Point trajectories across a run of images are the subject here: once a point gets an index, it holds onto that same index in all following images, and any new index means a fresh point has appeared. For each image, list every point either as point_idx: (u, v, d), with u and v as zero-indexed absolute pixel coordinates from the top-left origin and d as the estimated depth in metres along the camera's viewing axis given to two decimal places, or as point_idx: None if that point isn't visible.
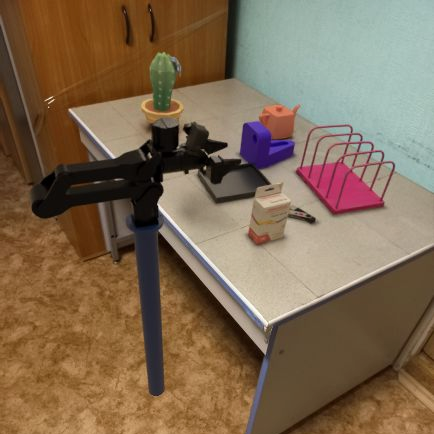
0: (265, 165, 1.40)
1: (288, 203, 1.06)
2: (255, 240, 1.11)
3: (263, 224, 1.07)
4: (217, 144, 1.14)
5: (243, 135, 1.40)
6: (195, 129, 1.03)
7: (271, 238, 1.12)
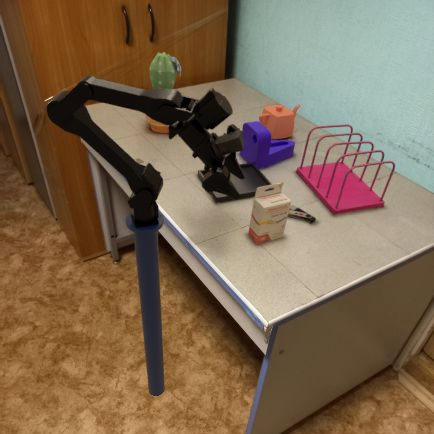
0: (265, 165, 1.40)
1: (288, 203, 1.06)
2: (255, 240, 1.11)
3: (263, 224, 1.07)
4: (237, 169, 1.07)
5: (243, 135, 1.40)
6: (236, 135, 0.95)
7: (271, 237, 1.12)
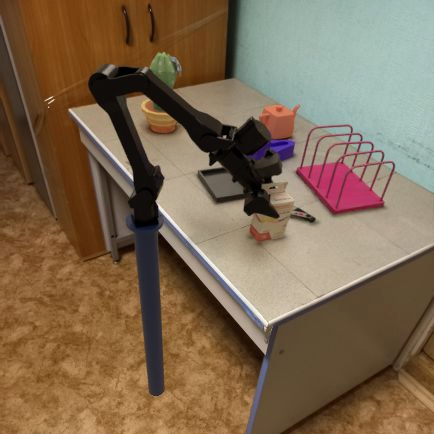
0: None
1: (291, 202, 1.06)
2: (256, 238, 1.11)
3: (265, 222, 1.07)
4: None
5: None
6: (275, 159, 0.98)
7: (271, 236, 1.12)
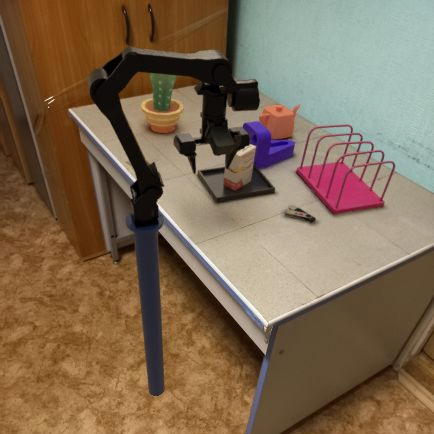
0: (265, 165, 1.40)
1: (254, 149, 1.24)
2: (233, 188, 1.27)
3: (239, 171, 1.24)
4: (228, 158, 1.10)
5: None
6: (223, 143, 0.98)
7: (243, 183, 1.29)
